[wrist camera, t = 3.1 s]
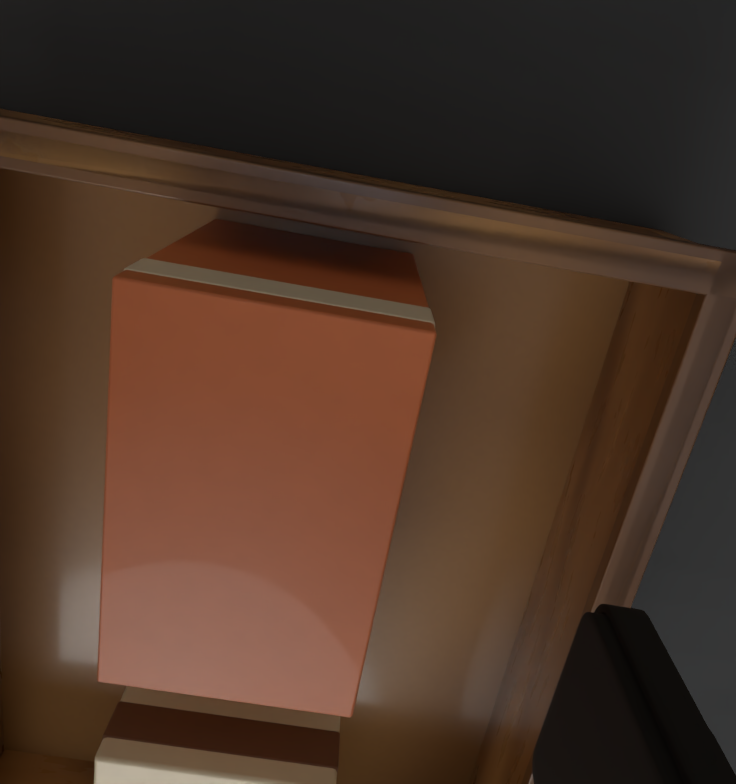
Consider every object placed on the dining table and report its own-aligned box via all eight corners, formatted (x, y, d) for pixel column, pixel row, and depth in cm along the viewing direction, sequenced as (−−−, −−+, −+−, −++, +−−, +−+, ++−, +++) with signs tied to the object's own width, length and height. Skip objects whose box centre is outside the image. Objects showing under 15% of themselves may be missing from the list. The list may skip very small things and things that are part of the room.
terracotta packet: (188, 498, 20) (94, 683, 13) (213, 217, 17) (109, 274, 10) (360, 525, 20) (353, 720, 13) (414, 253, 17) (439, 331, 10)
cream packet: (165, 750, 23) (83, 994, 17) (183, 554, 20) (91, 757, 14) (311, 770, 23) (286, 1018, 17) (349, 580, 21) (337, 790, 14)
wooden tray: (-12, 752, 24) (-95, 885, 20) (-37, 94, 16) (-183, 82, 12) (474, 818, 25) (494, 958, 21) (671, 225, 17) (767, 257, 13)
